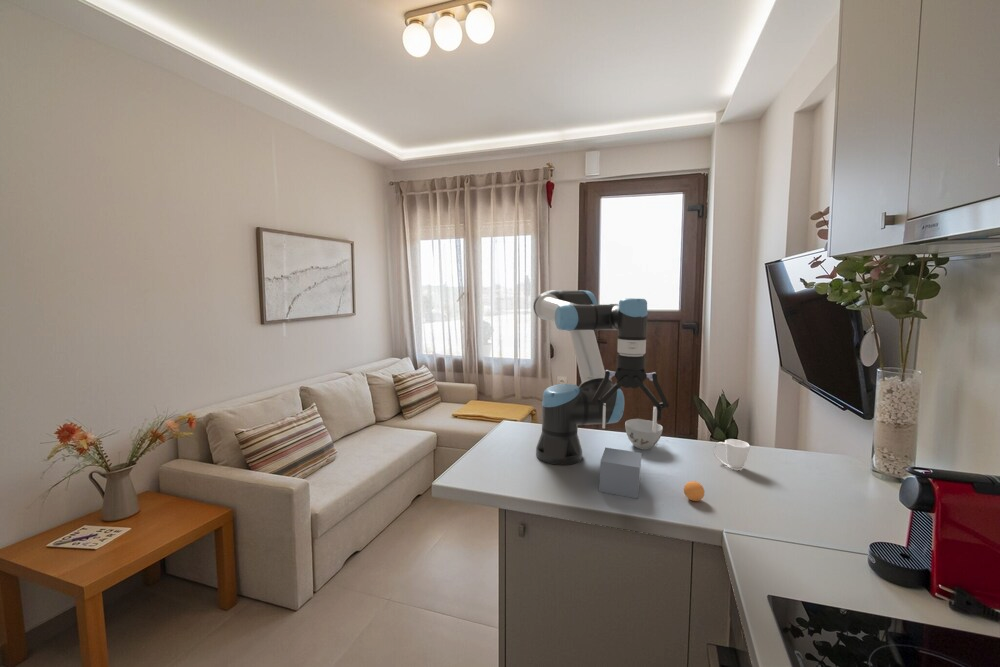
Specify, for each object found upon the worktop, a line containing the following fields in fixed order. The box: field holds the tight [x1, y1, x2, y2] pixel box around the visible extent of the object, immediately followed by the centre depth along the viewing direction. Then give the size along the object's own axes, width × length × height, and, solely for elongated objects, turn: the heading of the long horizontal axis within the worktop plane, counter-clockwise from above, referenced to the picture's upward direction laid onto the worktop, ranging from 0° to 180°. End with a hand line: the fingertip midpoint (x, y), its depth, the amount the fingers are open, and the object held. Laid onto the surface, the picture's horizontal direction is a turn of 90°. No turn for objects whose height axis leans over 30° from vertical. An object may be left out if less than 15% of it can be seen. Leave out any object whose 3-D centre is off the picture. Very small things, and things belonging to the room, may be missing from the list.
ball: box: [683, 480, 705, 502], centre depth 113 cm, size 5×5×5 cm
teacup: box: [624, 418, 663, 450], centre depth 149 cm, size 15×12×8 cm
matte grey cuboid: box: [598, 447, 643, 499], centre depth 119 cm, size 10×10×9 cm
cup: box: [712, 438, 751, 471], centre depth 133 cm, size 7×10×8 cm
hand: (628, 429), depth 119 cm, fingers open, 13 cm apart
